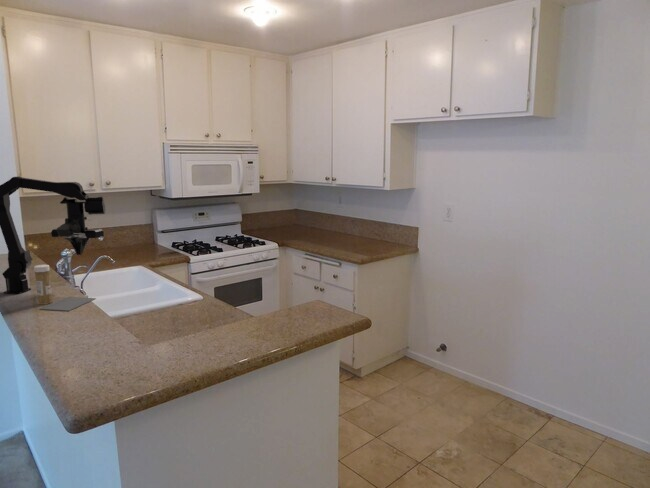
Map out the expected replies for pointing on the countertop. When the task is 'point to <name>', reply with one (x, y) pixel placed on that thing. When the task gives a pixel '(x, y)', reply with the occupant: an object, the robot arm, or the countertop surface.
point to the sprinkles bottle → (43, 284)
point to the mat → (67, 304)
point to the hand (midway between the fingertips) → (79, 254)
